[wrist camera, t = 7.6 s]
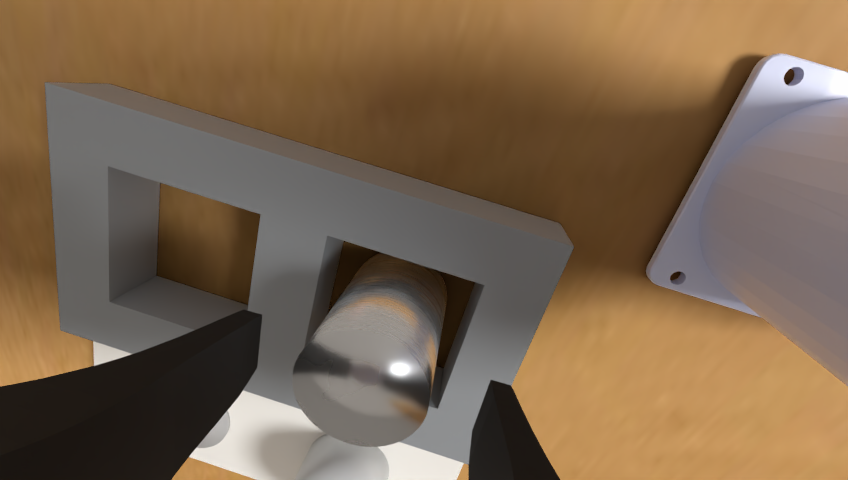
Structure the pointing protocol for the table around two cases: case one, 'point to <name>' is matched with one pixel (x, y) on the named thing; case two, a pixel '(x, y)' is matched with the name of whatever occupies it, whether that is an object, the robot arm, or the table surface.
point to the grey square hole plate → (280, 243)
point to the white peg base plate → (300, 445)
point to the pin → (374, 354)
